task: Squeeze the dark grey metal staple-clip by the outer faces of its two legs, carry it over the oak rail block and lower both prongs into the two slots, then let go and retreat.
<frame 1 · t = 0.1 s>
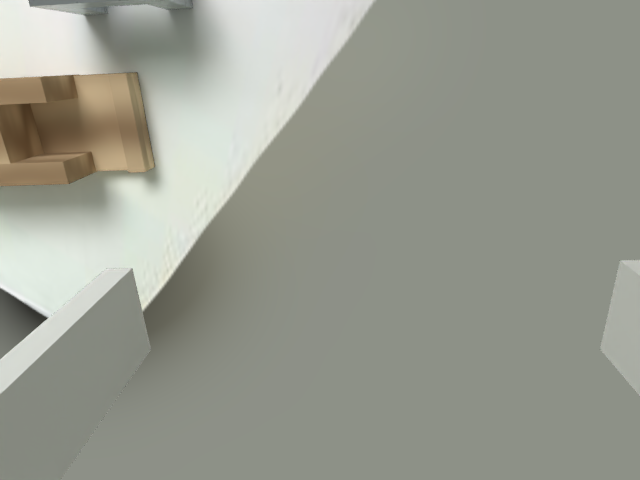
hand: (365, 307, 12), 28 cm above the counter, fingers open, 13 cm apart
rail: (27, 126, 40), on the counter
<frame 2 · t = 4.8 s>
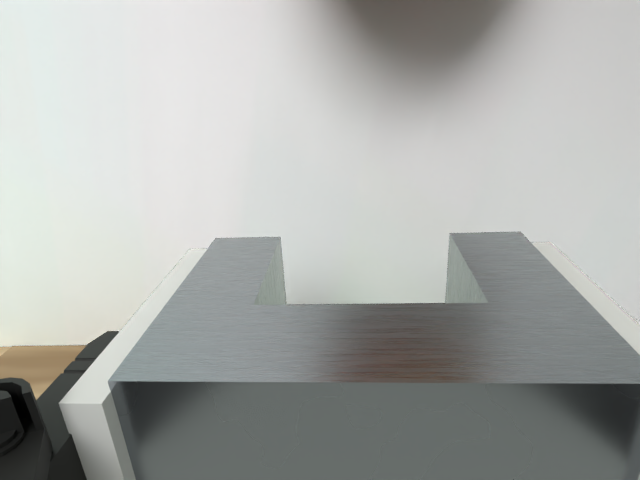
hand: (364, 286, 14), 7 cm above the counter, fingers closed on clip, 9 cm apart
rail: (137, 407, 25), on the counter
clip: (364, 280, 14), point 7 cm above the counter, touching gripper
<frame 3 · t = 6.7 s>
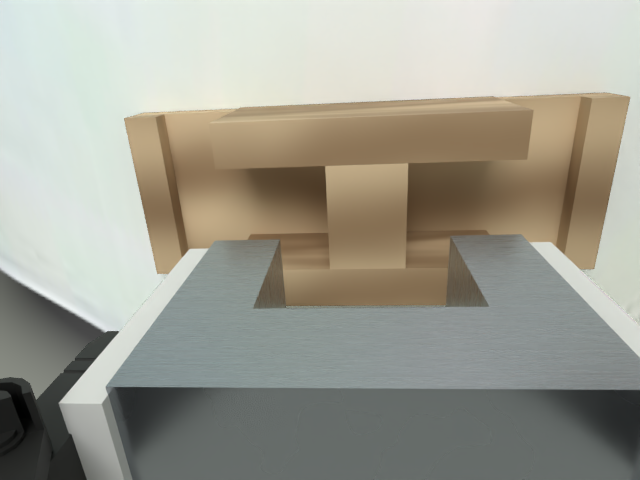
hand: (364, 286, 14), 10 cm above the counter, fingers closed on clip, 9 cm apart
rail: (364, 184, 23), on the counter
clip: (364, 282, 14), point 10 cm above the counter, touching gripper
when the fingers open (2 cm above the counter, at t = 8.8 s): clip stays where it is, resting on rail.
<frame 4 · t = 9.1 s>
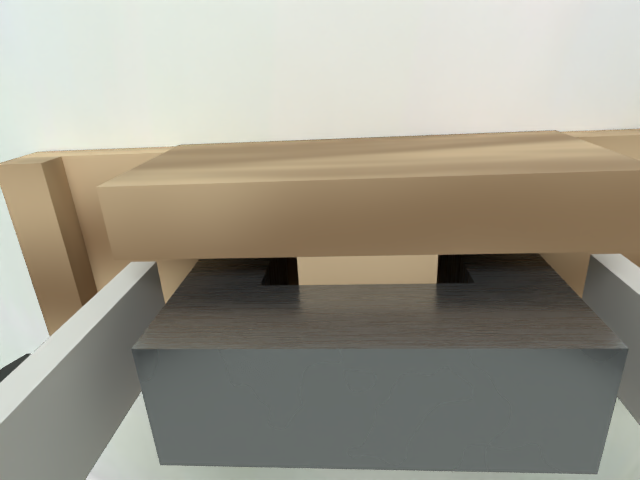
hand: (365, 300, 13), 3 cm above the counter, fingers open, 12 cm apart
rail: (362, 253, 16), on the counter
clip: (362, 267, 15), point 1 cm above the counter, touching rail
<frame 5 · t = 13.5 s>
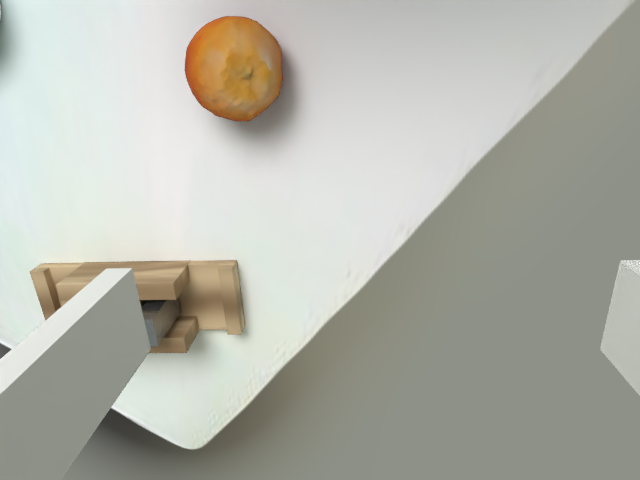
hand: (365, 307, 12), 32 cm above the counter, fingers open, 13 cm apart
rail: (144, 294, 50), on the counter
fruit: (244, 68, 40), on the counter
clip: (139, 299, 49), point 1 cm above the counter, touching rail
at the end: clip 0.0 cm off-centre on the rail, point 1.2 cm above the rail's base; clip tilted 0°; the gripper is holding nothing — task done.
